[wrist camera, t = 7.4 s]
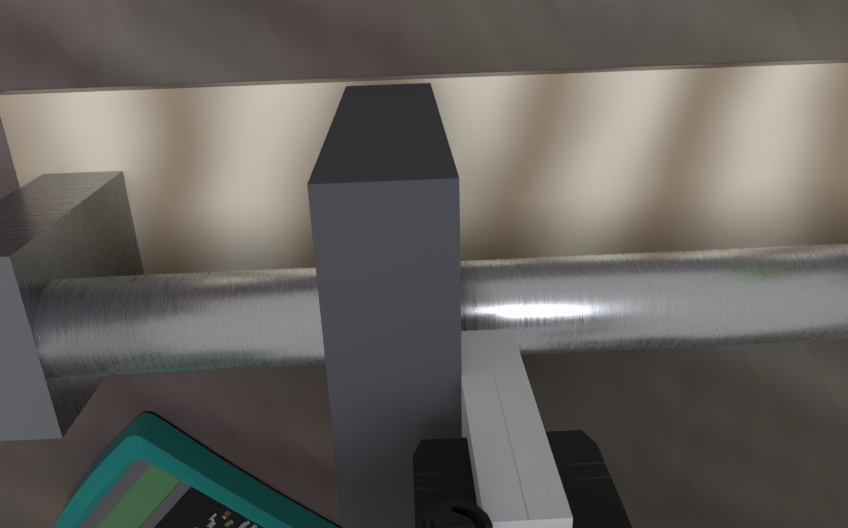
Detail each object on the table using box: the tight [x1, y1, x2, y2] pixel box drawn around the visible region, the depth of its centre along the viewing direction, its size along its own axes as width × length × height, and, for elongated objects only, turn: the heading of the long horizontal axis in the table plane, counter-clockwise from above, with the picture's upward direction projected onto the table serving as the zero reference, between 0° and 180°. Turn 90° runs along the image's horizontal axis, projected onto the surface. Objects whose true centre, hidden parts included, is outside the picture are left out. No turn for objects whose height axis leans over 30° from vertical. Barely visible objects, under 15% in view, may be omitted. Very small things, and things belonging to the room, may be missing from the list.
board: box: [0, 59, 848, 275], centre depth 29 cm, size 39×12×1 cm, turn 92°
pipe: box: [0, 171, 848, 441], centre depth 24 cm, size 37×6×9 cm, turn 92°
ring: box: [307, 83, 462, 528], centre depth 22 cm, size 3×12×12 cm, turn 2°
